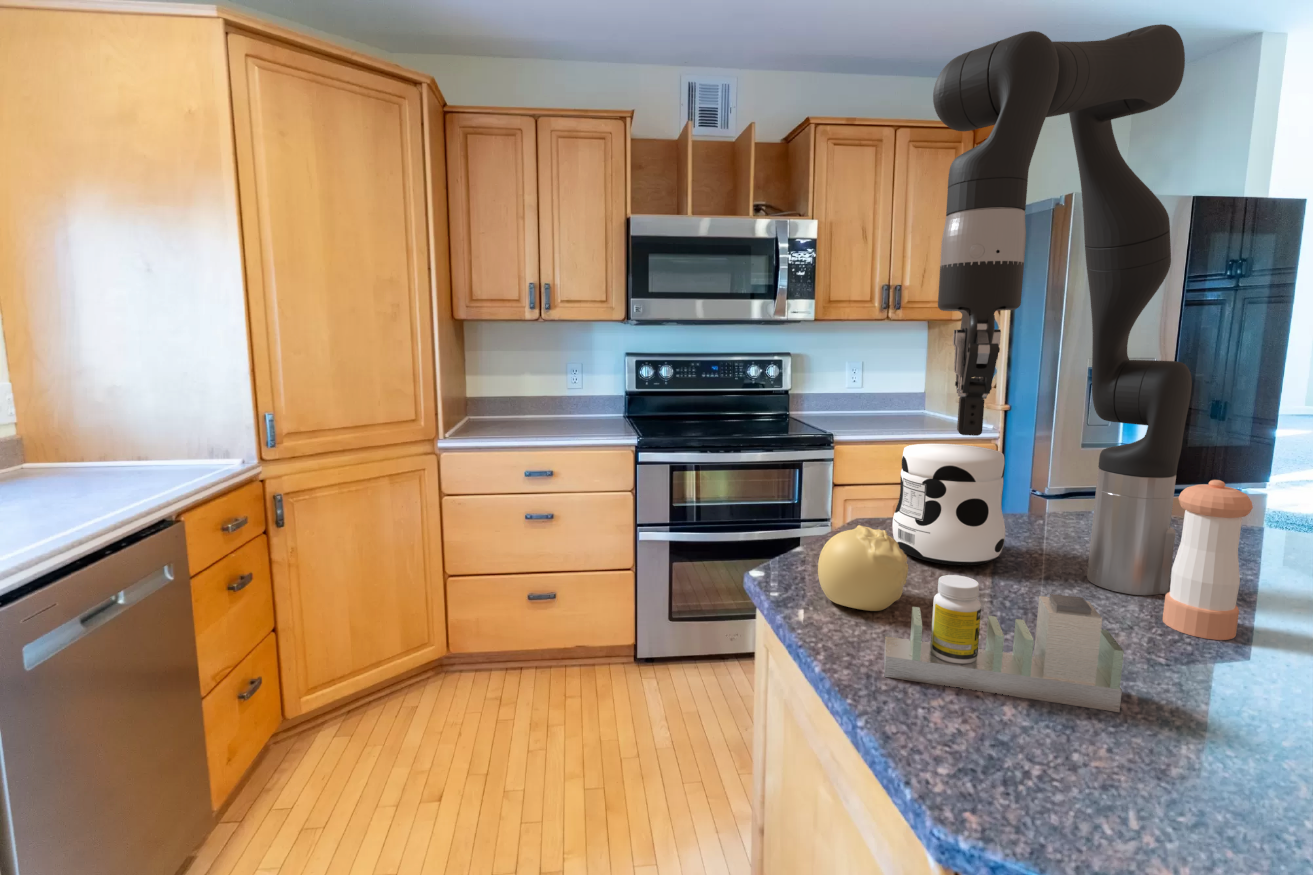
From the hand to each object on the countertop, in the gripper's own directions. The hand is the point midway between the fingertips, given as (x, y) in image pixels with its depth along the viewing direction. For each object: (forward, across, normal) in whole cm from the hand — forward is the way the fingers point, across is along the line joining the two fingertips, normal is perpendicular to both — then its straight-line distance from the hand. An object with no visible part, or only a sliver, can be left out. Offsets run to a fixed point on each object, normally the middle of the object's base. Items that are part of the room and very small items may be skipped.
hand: (969, 434), depth 68 cm
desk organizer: (+27, 0, -4) cm, 27 cm away
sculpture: (+27, +18, +10) cm, 34 cm away
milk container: (+27, +43, -3) cm, 51 cm away
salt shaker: (+27, +23, -31) cm, 47 cm away
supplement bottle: (+25, 0, 0) cm, 25 cm away
